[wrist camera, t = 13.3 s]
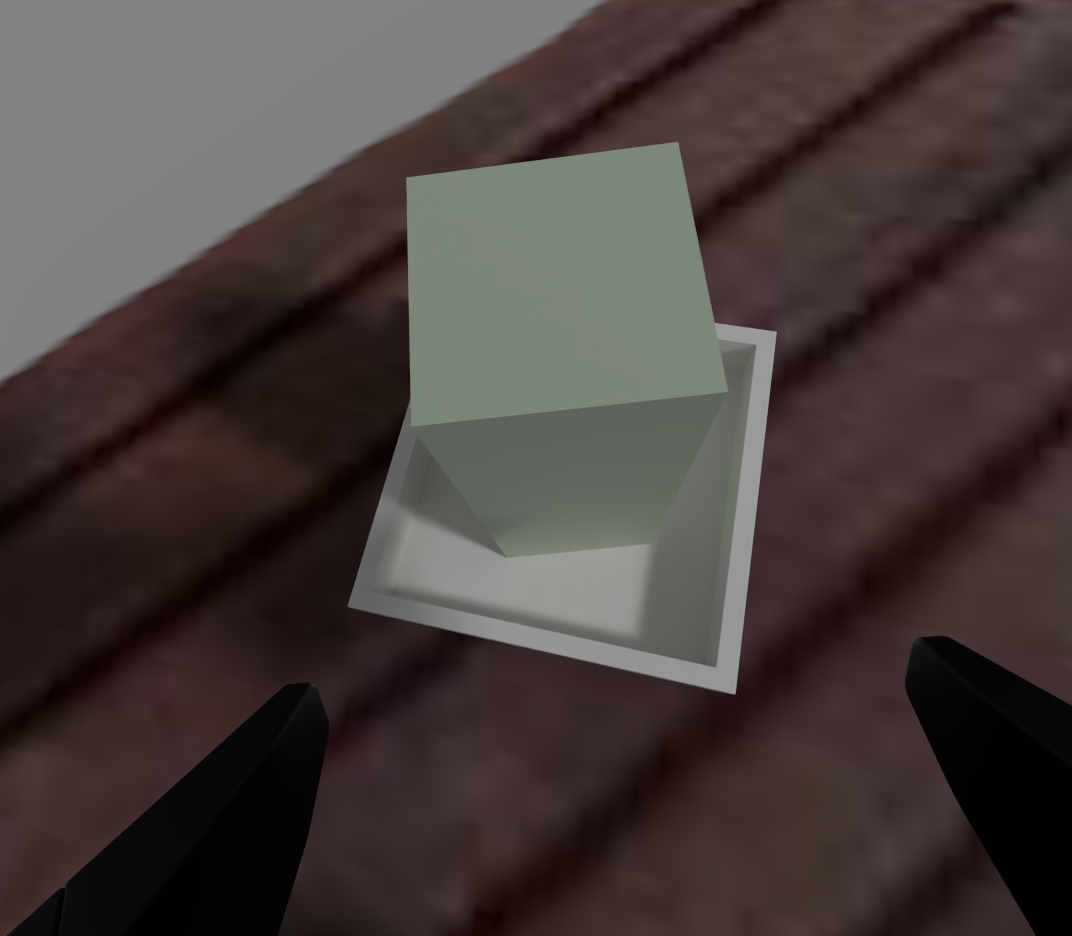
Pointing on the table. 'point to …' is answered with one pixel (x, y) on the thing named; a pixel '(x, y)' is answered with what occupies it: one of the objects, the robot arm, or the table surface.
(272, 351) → the table surface
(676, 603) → the tray
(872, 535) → the table surface
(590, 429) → the handle block
